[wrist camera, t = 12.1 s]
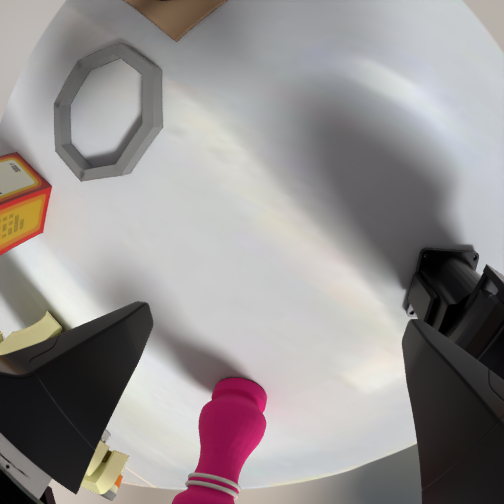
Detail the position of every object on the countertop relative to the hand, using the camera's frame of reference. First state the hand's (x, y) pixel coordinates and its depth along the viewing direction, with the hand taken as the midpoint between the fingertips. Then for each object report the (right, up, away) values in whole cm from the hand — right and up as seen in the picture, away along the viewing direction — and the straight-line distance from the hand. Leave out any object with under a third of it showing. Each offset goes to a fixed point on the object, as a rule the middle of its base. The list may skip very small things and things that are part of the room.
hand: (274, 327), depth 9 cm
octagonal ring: (-14, +15, +11) cm, 23 cm away
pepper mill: (-2, -14, +21) cm, 25 cm away
